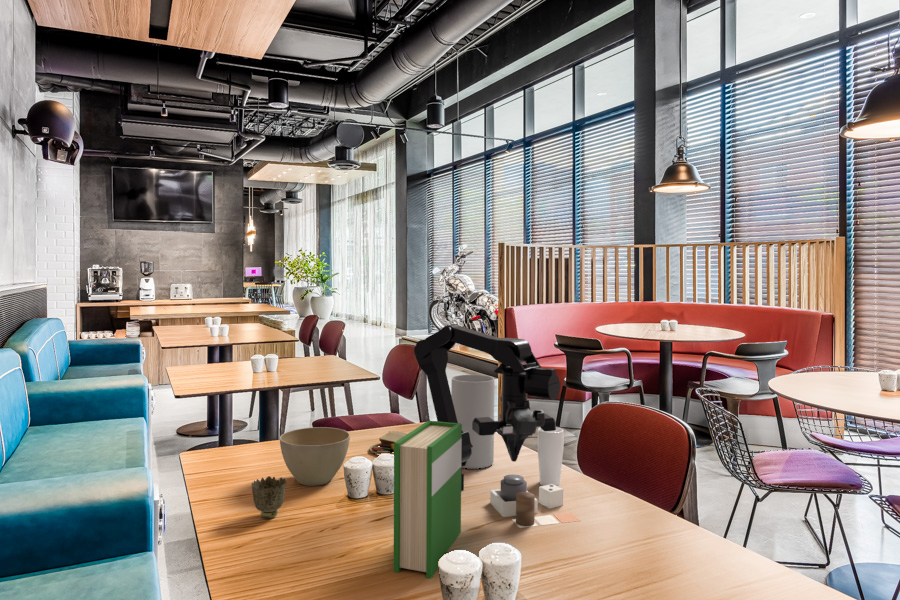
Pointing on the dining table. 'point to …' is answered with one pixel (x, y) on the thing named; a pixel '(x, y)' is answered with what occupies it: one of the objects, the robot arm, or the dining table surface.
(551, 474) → the white tapered vase
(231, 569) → the dining table surface
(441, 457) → the hardback book
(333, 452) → the deep taupe bowl
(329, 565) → the dining table surface
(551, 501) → the die
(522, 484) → the popper button
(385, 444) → the toy sandwich meal
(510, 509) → the board
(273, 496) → the cup
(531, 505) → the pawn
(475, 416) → the cylinder vase
